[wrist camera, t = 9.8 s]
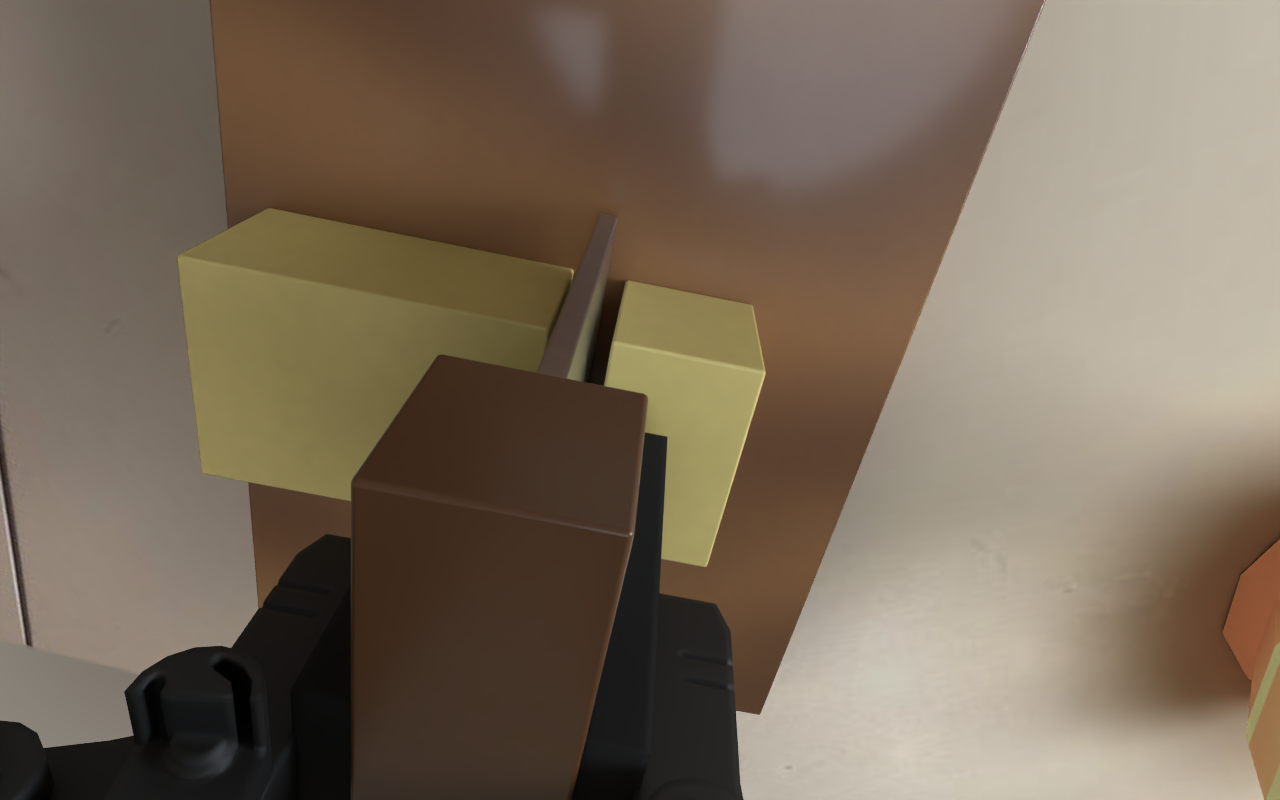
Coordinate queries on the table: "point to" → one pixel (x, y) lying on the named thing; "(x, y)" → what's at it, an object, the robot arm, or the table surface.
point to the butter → (340, 338)
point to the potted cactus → (1260, 661)
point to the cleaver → (492, 567)
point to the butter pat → (690, 399)
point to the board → (649, 202)
